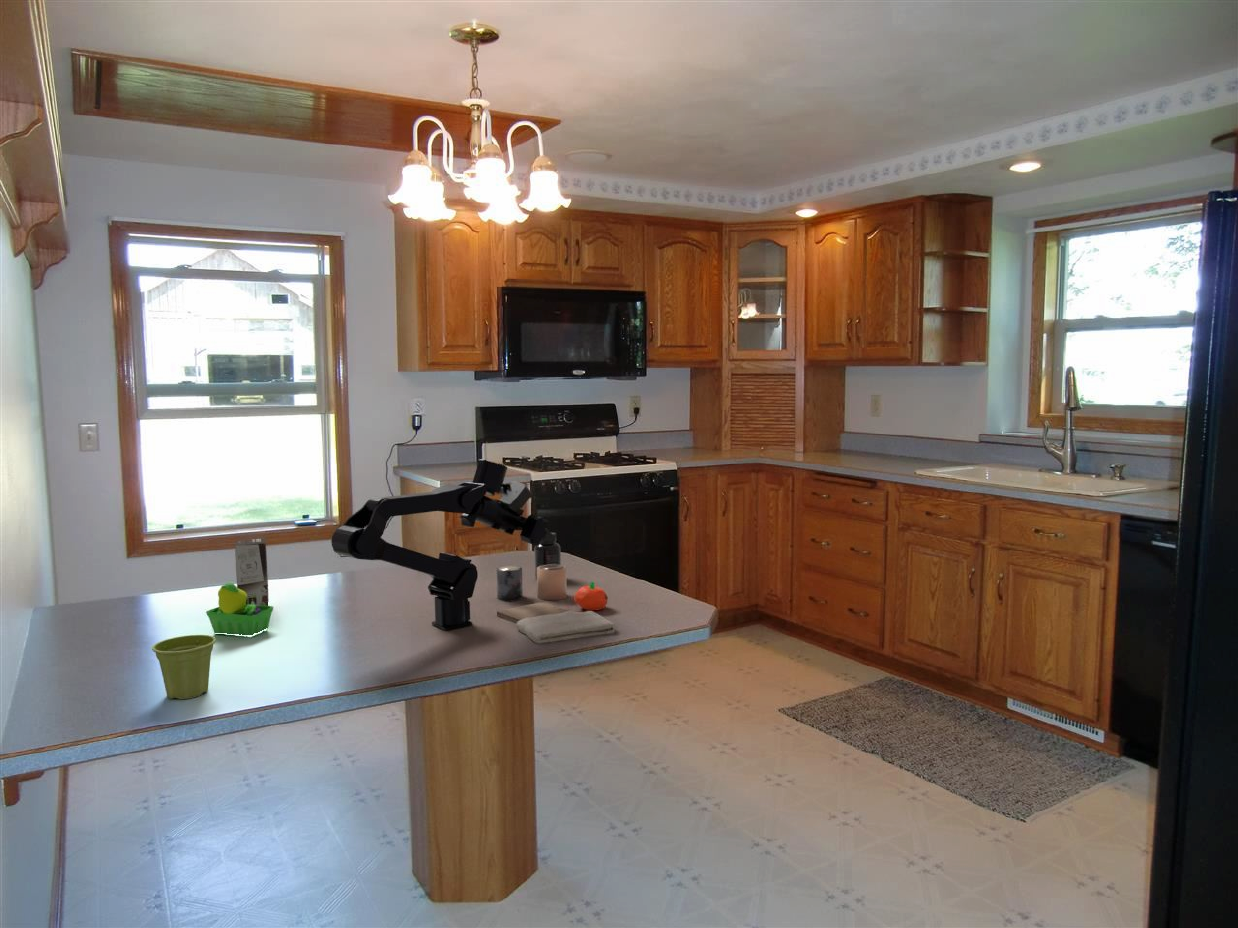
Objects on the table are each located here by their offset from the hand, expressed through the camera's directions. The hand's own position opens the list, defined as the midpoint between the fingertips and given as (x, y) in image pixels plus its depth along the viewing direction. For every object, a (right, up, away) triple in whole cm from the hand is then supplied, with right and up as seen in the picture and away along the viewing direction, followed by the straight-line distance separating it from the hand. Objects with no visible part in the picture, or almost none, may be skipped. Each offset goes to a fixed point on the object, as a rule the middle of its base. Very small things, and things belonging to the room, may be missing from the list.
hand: (540, 532), depth 198 cm
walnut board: (0, -18, -11) cm, 21 cm away
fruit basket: (-60, -19, -22) cm, 67 cm away
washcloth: (+8, -19, -22) cm, 30 cm away
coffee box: (-65, -18, -3) cm, 67 cm away
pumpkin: (+12, -17, -5) cm, 21 cm away
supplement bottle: (0, -14, +25) cm, 29 cm away
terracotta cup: (+2, -16, +6) cm, 17 cm away
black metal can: (-8, -16, +6) cm, 19 cm away
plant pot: (-53, -23, -56) cm, 81 cm away
